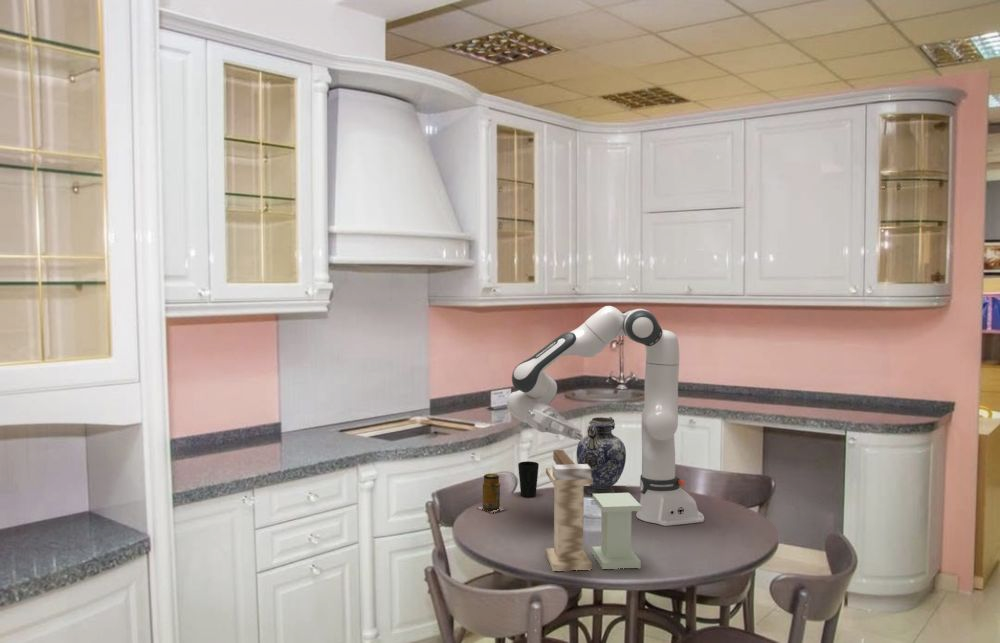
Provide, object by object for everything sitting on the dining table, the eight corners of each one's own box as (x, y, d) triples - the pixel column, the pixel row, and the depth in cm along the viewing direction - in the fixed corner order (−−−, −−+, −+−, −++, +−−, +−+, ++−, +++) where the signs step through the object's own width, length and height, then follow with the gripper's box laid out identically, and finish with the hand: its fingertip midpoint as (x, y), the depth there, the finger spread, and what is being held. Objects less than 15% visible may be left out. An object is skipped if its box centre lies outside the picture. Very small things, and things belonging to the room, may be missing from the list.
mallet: (574, 459, 241) (574, 449, 241) (591, 479, 218) (591, 468, 218) (542, 460, 240) (542, 450, 240) (555, 480, 217) (555, 469, 217)
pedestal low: (628, 551, 235) (628, 492, 233) (640, 568, 222) (641, 505, 220) (591, 553, 233) (592, 493, 232) (602, 569, 220) (603, 506, 219)
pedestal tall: (581, 553, 233) (582, 467, 231) (591, 570, 220) (592, 479, 218) (545, 555, 232) (546, 468, 230) (553, 571, 219) (553, 480, 217)
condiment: (492, 504, 282) (493, 471, 281) (508, 510, 275) (508, 476, 274) (476, 508, 277) (476, 474, 276) (491, 514, 271) (491, 479, 270)
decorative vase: (589, 481, 312) (590, 411, 310) (633, 488, 303) (635, 417, 300) (565, 495, 294) (567, 421, 291) (612, 503, 284) (614, 427, 282)
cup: (528, 491, 298) (528, 460, 297) (542, 495, 293) (543, 463, 292) (513, 495, 293) (513, 463, 292) (528, 499, 287) (528, 467, 286)
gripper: (528, 400, 253) (557, 416, 243) (565, 417, 267) (594, 432, 257) (519, 418, 253) (549, 434, 243) (557, 434, 267) (586, 450, 257)
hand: (572, 433), depth 250 cm, fingers open, 8 cm apart
